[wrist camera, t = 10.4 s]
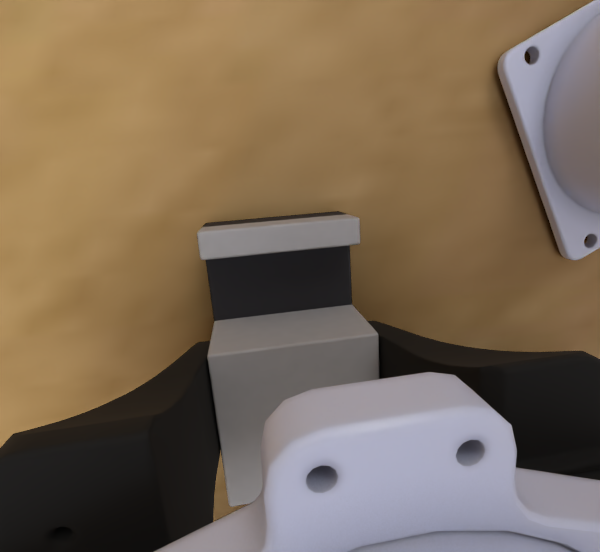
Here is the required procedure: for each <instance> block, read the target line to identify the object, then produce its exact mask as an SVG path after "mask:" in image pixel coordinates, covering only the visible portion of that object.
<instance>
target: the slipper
mask: <svg viewBox="0 0 600 552" xmlns="http://www.w3.org/2000/svg"><path fill="white" fill-rule="evenodd" d="M197 239H198V246H199V253H200V258H201V260H206V266H207V273H208V280H209V287H210V294H211V302H212V309H213V316H214V326H213V330H212V335H211V340H210V345H209V350H208V355H207V360H208V367H209V374H210V380H211V387H212V394H213V401H214V407H215V414H216V421H217V428H218V435H219V441H220V448H221V455H222V462H223V468H224V475H225V482H226V489H227V495H228V502H229V505H230V506H231V507H232V506H238V505H243V504H249V503H252V502H254V501H255V499H256V498H257V497H258V496H259V495H260V493H261V490H262V487H263V479H262V464H261V449H260V446H261V441H262V435H263V430H264V425H265V421H266V420H267V419H268V418H269V416H270V415H271V414H272V413H273V412H274V411H275V410H276V408H277V407H278V406H279V405H280V404H281V403H282V402H283V401H284V400H285V399H288V398H290V397H293V396H295V395H298V394H300V393H303V392H306V391H308V390H311V389H316V388H323V387H329V386H336V385H343V384H350V383H357V382H364V381H370V380H377V379H380V378H379V335H378V333H377V332H376V331H375V330H374V328H373V327H372V326H371V325H370V324H369V323H368V322H367V321H366V319H365V318H364V317H363V316H362V315H361V314H360V313H359V312H358V311H357V309H356V308H355V307H354V306H353V305H352V292H351V268H350V245H358V244H360V219H359V218H358V217H355V216H351V215H348V214H345V213H342V212H338V211H337V212H325V213H314V214H303V215H291V216H280V217H269V218H257V219H246V220H235V221H224V222H212V223H206V224H205V225H204V226H203V227H202V228H201V229H200V230H199V231H198V232H197Z"/></svg>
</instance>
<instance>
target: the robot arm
mask: <svg viewBox="0 0 600 552" xmlns="http://www.w3.org/2000/svg"><path fill="white" fill-rule="evenodd" d="M526 51H527V52H528V53H529V54H530V62H529V64H528V63H527V62H526V61H525V57H524V54H525V52H526ZM497 69H498V75H499V78H500V80H501V83H502V86H503V89H504V92H505V95H506V98H507V101H508V104H509V107H510V109H511V112H512V115H513V118H514V121H515V124H516V127H517V130H518V133H519V135H520V138H521V141H522V144H523V147H524V150H525V153H526V156H527V159H528V162H529V164H530V167H531V170H532V173H533V176H534V179H535V182H536V185H537V188H538V190H539V193H540V196H541V199H542V202H543V205H544V208H545V211H546V214H547V217H548V219H549V222H550V225H551V228H552V231H553V234H554V237H555V240H556V243H557V245H558V248H559V251H560V253H561V255H562V256H563V257H564V258H566V259H570V260H579V259H582V258H583V257H585V256H587V255H588V254H590V253H592V252H593V251H595V250H597V249H599V248H600V0H593V1H592V2H590V3H588V4H587V5H585V6H583V7H581V8H580V9H578V10H576V11H575V12H573V13H571V14H569V15H568V16H566V17H564V18H563V19H561V20H559V21H557V22H556V23H554V24H552V25H551V26H549V27H547V28H545V29H544V30H542V31H540V32H539V33H537V34H535V35H533V36H532V37H530V38H528V39H527V40H525V41H523V42H521V43H520V44H518V45H516V46H515V47H513V48H511V49H509V50H508V51H506V52H505V53H504V54H503V55H502V56H501V57H500V59H499V61H498V66H497ZM586 236H587V241H586V243H585V244H584V240H585V238H586ZM367 322H368V323H369V324H370V325H371V326H372V327H373V328H374V330H375V331H376V332H377V333H378V335H379V378H380V379H377V380H370V381H364V382H357V383H350V384H343V385H336V386H329V387H323V388H316V389H311V390H308V391H306V392H303V393H300V394H298V395H295V396H293V397H290V398H288V399H285V400H284V401H283V402H282V403H281V404H280V405H279V406H278V407H277V408H276V410H275V411H274V412H273V413H272V414H271V415H270V416H269V418H268V419H267V420H266V421H265V425H264V430H263V435H262V441H261V446H260V449H261V464H262V479H263V487H262V490H261V493H260V495H259V496H258V497H257V498H256V499H255V501H254V502H252V503H250V504H248V505H246V506H244V507H242V508H240V509H238V510H236V511H234V512H232V513H230V514H228V515H226V516H224V517H222V518H220V519H218V520H216V521H214V522H213V508H214V491H215V481H216V474H217V468H218V462H219V455H220V449H221V448H220V441H219V435H218V428H217V421H216V414H215V407H214V401H213V394H212V387H211V380H210V374H209V367H208V360H207V355H208V350H209V345H210V341H205V342H198V343H197V344H195V345H194V346H193V347H191V348H190V349H189V350H188V351H187V352H186V353H184V354H183V355H182V356H181V357H180V358H179V359H177V360H176V361H175V362H174V363H173V364H171V365H170V366H169V367H167V368H166V369H165V370H163V371H162V372H161V373H159V374H158V375H157V376H155V377H154V378H152V379H151V380H149V381H148V382H146V383H145V384H143V385H141V386H140V387H138V388H136V389H135V390H133V391H131V392H129V393H127V394H126V395H123V396H121V397H119V398H117V399H115V400H113V401H111V402H109V403H107V404H104V405H102V406H100V407H98V408H95V409H93V410H90V411H88V412H85V413H82V414H80V415H77V416H74V417H71V418H68V419H65V420H62V421H59V422H56V423H52V424H49V425H45V426H41V427H38V428H34V429H30V430H27V431H23V432H19V433H15V434H13V435H12V436H11V437H10V438H9V439H8V440H7V441H6V442H5V444H4V445H3V446H2V447H1V448H0V552H600V359H598V358H596V357H594V356H592V355H590V354H588V353H586V352H584V351H560V352H511V351H496V350H487V349H478V348H471V347H464V346H459V345H454V344H449V343H445V342H440V341H436V340H433V339H429V338H426V337H422V336H419V335H416V334H413V333H410V332H407V331H404V330H401V329H398V328H395V327H392V326H389V325H386V324H383V323H380V322H376V321H367Z"/></svg>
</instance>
